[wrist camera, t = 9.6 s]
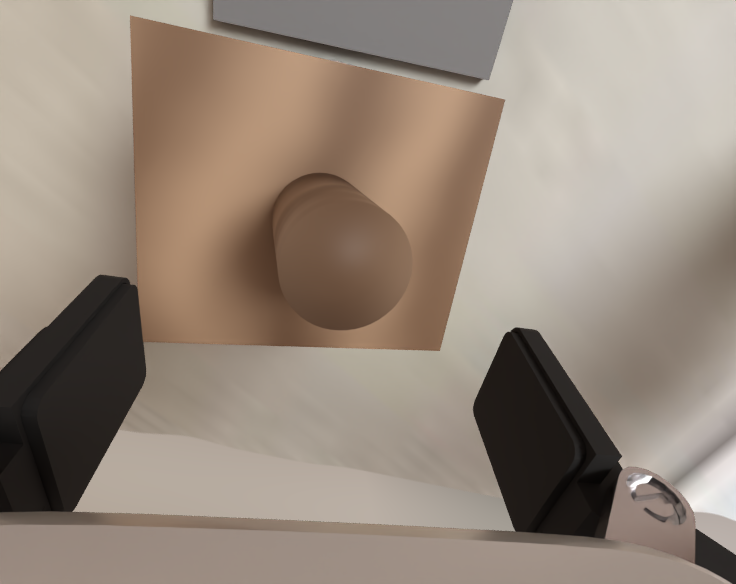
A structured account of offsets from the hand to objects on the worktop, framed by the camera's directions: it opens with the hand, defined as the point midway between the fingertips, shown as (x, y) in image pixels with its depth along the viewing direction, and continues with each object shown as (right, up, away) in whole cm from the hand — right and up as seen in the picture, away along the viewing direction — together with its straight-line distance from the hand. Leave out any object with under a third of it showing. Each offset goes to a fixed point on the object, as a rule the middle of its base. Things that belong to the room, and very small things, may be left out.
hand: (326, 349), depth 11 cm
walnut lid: (-1, +5, +8) cm, 9 cm away
